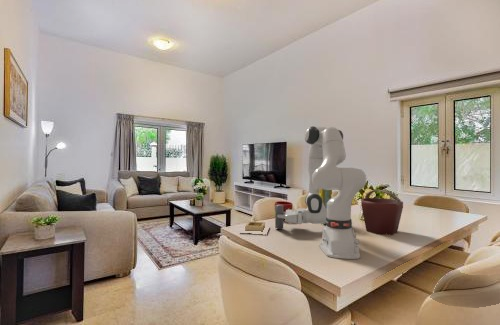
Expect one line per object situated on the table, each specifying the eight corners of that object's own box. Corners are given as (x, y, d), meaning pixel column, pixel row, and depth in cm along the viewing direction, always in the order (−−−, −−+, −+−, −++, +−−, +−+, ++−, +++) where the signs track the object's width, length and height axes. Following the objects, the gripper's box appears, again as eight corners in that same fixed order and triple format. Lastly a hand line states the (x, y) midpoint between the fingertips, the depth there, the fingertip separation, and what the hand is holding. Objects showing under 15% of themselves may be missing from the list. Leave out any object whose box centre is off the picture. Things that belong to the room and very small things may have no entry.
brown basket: (411, 237, 138) (411, 192, 138) (371, 237, 138) (371, 192, 138) (386, 226, 162) (386, 187, 162) (353, 226, 162) (353, 187, 162)
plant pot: (272, 220, 178) (273, 203, 178) (276, 216, 191) (276, 200, 191) (291, 221, 175) (291, 204, 175) (293, 217, 187) (293, 201, 187)
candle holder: (266, 235, 142) (266, 228, 142) (239, 233, 145) (239, 226, 145) (269, 227, 158) (269, 221, 158) (245, 226, 161) (245, 220, 161)
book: (332, 224, 165) (332, 187, 165) (321, 224, 165) (321, 187, 165) (324, 219, 182) (325, 184, 182) (315, 218, 182) (315, 184, 182)
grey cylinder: (283, 229, 151) (283, 206, 151) (274, 228, 152) (274, 205, 152) (283, 227, 156) (283, 204, 156) (275, 226, 157) (275, 204, 157)
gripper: (300, 207, 162) (279, 207, 165) (300, 213, 142) (276, 212, 145) (300, 217, 162) (279, 216, 165) (300, 224, 142) (276, 223, 144)
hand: (277, 214), depth 154 cm, fingers closed on grey cylinder, 5 cm apart
